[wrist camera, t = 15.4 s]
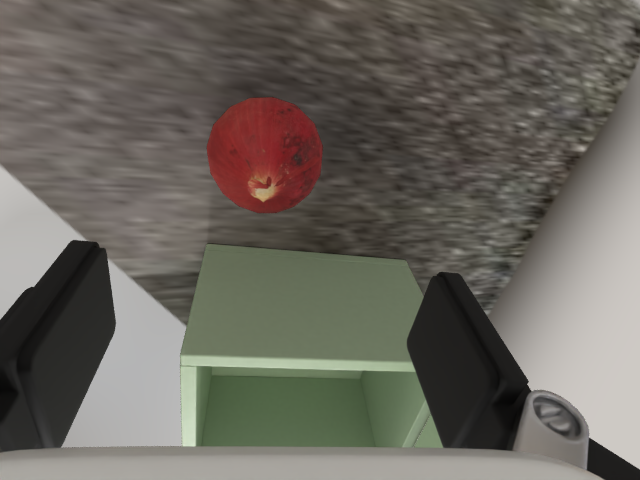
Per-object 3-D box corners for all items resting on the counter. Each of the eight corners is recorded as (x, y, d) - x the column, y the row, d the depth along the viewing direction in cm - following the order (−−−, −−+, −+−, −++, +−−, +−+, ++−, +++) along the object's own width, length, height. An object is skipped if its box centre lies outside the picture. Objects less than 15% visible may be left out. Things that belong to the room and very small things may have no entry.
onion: (292, 65, 22) (303, 102, 15) (328, 157, 25) (350, 222, 18) (197, 106, 22) (167, 159, 16) (244, 191, 25) (235, 265, 19)
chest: (203, 373, 34) (182, 495, 26) (206, 243, 27) (179, 355, 19) (364, 377, 37) (391, 489, 29) (405, 259, 30) (457, 364, 22)
